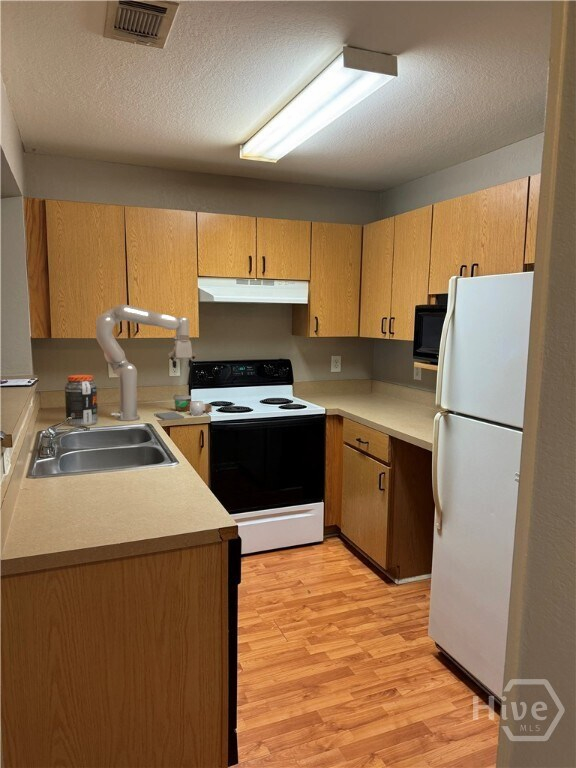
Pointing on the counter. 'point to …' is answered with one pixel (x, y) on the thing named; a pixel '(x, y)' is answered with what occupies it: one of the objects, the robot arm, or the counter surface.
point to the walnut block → (208, 408)
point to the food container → (182, 403)
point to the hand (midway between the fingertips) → (182, 367)
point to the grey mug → (197, 408)
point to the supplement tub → (81, 400)
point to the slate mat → (169, 415)
